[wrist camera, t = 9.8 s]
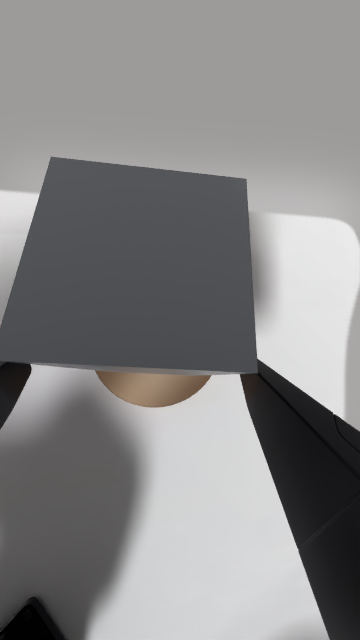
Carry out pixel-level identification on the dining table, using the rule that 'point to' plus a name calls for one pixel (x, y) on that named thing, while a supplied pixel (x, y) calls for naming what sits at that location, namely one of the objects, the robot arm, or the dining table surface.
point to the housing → (134, 274)
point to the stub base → (152, 387)
